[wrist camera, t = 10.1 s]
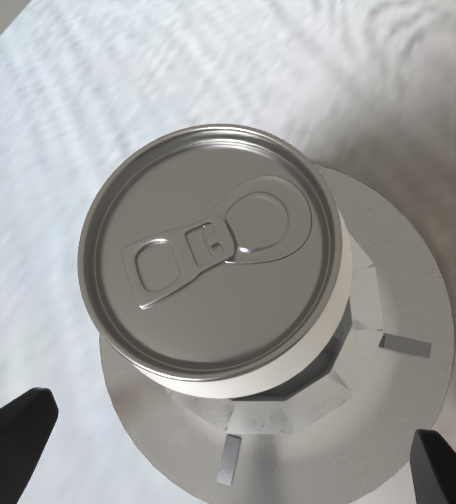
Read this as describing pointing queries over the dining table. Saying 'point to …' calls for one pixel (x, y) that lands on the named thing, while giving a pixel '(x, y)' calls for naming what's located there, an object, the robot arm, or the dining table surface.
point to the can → (216, 261)
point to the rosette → (315, 384)
